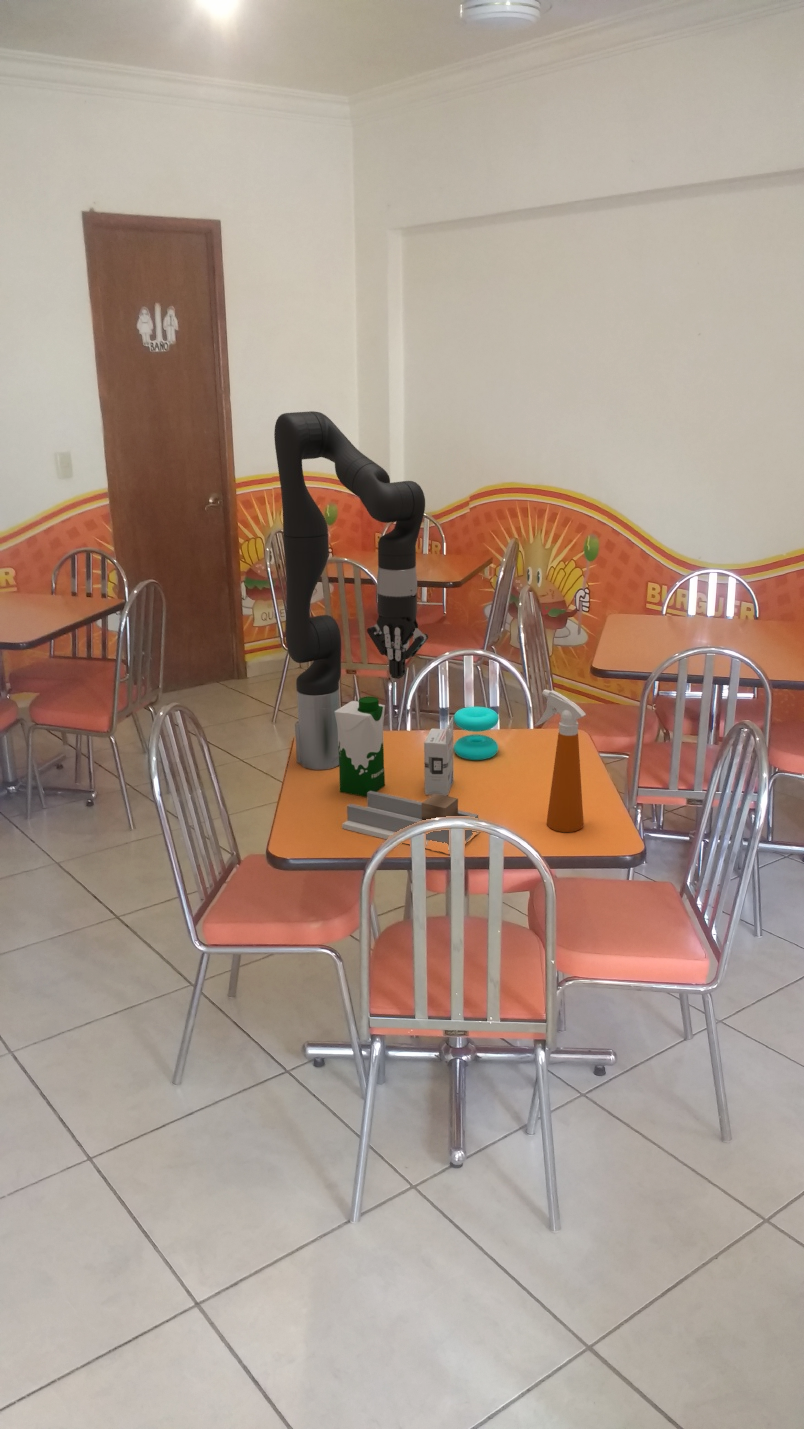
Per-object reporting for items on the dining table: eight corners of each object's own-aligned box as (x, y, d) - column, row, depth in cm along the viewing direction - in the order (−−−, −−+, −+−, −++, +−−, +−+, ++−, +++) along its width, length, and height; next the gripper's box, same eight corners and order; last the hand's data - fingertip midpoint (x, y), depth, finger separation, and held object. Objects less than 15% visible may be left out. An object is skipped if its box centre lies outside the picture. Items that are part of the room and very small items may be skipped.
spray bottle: (542, 809, 206) (546, 682, 197) (590, 823, 200) (596, 693, 191) (523, 821, 201) (525, 692, 192) (571, 836, 194) (576, 703, 186)
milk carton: (371, 800, 212) (368, 707, 205) (333, 793, 216) (329, 701, 209) (391, 784, 219) (388, 694, 213) (353, 777, 223) (350, 689, 216)
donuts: (444, 713, 231) (471, 702, 238) (445, 755, 235) (471, 742, 242) (480, 722, 225) (507, 710, 232) (480, 765, 228) (506, 752, 236)
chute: (342, 828, 199) (341, 809, 198) (375, 805, 209) (375, 787, 208) (452, 855, 188) (452, 835, 186) (482, 830, 197) (482, 811, 196)
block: (421, 832, 194) (421, 802, 192) (434, 822, 198) (434, 793, 196) (445, 837, 192) (445, 808, 190) (458, 827, 196) (457, 798, 194)
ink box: (431, 779, 221) (430, 714, 217) (454, 780, 221) (453, 715, 216) (424, 795, 214) (423, 728, 209) (447, 796, 213) (447, 729, 208)
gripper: (356, 589, 195) (358, 677, 201) (417, 598, 189) (416, 688, 195) (378, 581, 201) (379, 666, 207) (437, 590, 195) (436, 677, 201)
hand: (397, 677), depth 201 cm, fingers closed
